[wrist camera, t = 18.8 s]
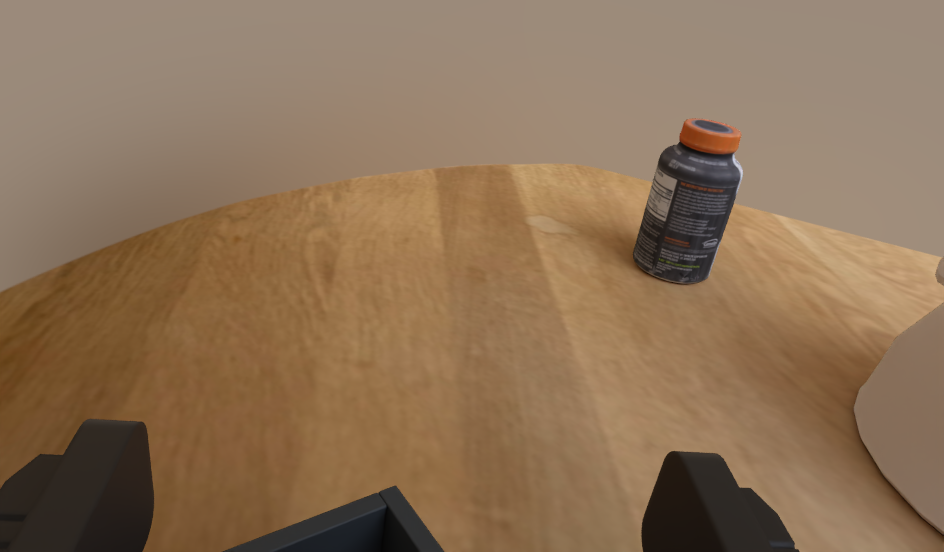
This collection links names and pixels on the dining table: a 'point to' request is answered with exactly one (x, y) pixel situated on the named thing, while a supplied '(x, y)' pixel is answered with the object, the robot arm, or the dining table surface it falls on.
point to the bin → (353, 529)
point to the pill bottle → (690, 203)
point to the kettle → (910, 414)
